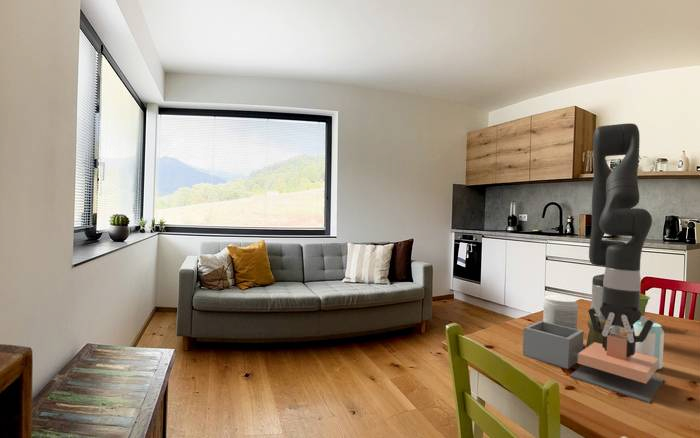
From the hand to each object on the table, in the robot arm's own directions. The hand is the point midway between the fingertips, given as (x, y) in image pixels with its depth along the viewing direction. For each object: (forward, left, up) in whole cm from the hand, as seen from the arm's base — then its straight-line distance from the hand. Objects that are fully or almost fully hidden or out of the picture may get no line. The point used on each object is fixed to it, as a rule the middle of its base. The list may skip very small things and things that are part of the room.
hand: (617, 352), depth 93 cm
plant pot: (-65, -10, -7) cm, 66 cm away
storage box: (-2, -16, -7) cm, 17 cm away
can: (-17, +3, -7) cm, 19 cm away
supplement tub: (-16, -19, -7) cm, 26 cm away
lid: (0, 0, -3) cm, 3 cm away
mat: (0, 0, -7) cm, 7 cm away
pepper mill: (-14, -8, -7) cm, 18 cm away
